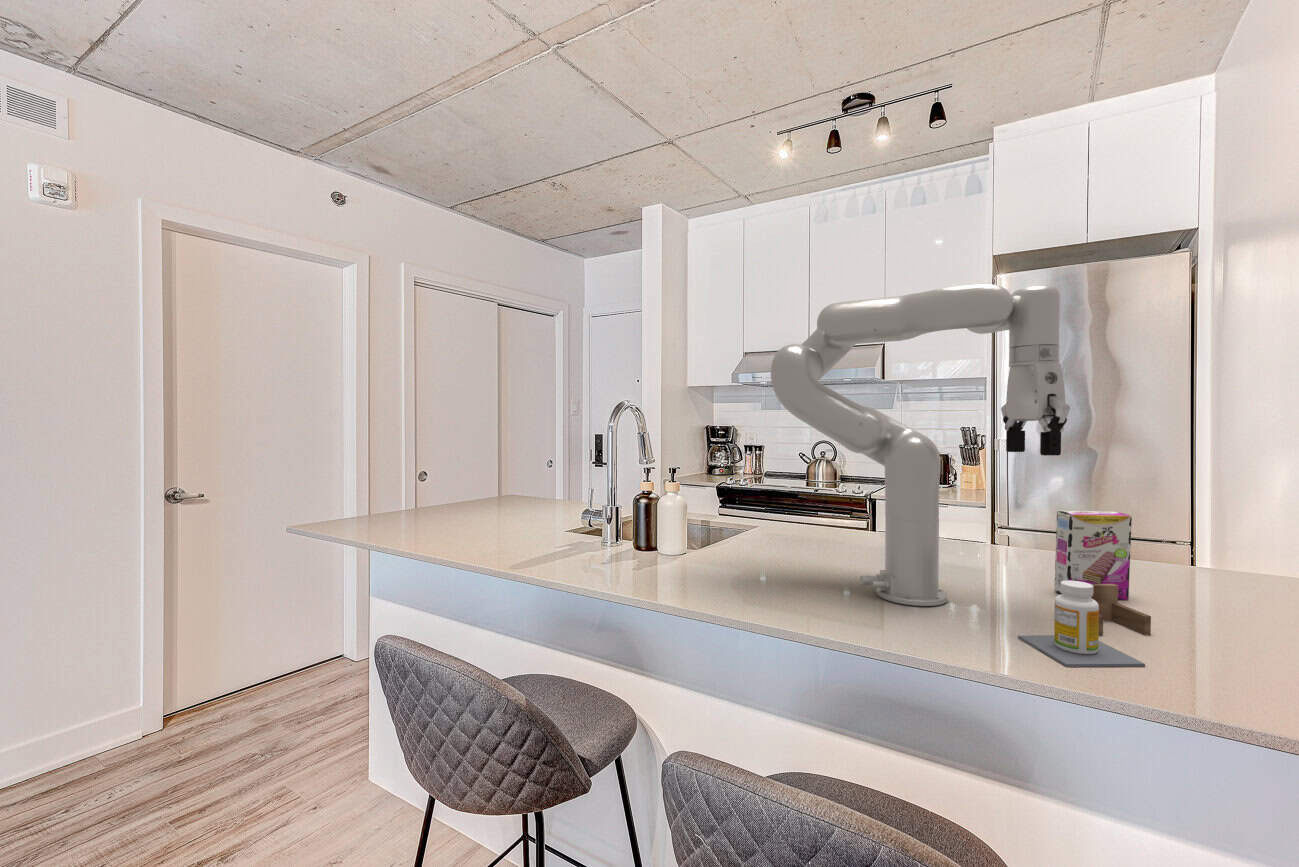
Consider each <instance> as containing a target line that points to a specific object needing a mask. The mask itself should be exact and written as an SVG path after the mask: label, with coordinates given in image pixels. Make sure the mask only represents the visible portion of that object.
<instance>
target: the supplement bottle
mask: <svg viewBox="0 0 1299 867" xmlns="http://www.w3.org/2000/svg"><path fill="white" fill-rule="evenodd" d="M1060 591H1061V592H1062V594H1058V595H1056V596H1055V598H1054V623H1053V624H1054V626H1053V628H1054V629H1053V631H1054V634H1053V635H1054V643H1055V645H1056V646H1057V647H1058V648H1060V649H1062V650H1065V651H1068V652H1071V653H1076V654H1095V653H1097V652H1098V643H1099V642H1098V640H1099V639H1100V638H1099V636H1100V635H1099V605H1098V603H1097V602H1096V601H1095V600H1094V599H1092V598H1091V596H1093V585H1091V584H1089V583H1085V582H1080V581H1070V580H1068V581H1061V584H1060Z"/></svg>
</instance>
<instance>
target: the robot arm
mask: <svg viewBox="0 0 1299 867" xmlns="http://www.w3.org/2000/svg"><path fill="white" fill-rule="evenodd" d="M1060 296H1061V295H1060V292H1059V289H1057V288H1056V287H1055V286H1049V285H1036V286H1028V287H1027V286H1026V287H1022V288H1019V289H1017V290H1015V291H1013V292H1012V293H1010V291H1009V290H1007V289H1006V288H1005V287H1003V286H1001V285H1000V284H999V285H998V284H994V283H993V284H992V283H981V284H980V283H979V284H971V285H970V284H969V285H960V286H951V287H943V288H937V289H933V290H932V289H931V290H927V291H922V292H916V293H915V292H914V293H909V294H905V295H898V296H890V297H888V296H887V297H880V298H870V299H869V298H868V299H859V300H858V299H857V300H849V301H840V302H833V303H831V304H829V305H826V306H825V307H824V308H823V309H822V310H821V311H820V313H819V314H818V316H817V319H816V329H815V330H814V331H813V332H812V333H811V335H809V336H808V338H806V339H805V340H804V341H803V342H802V343H801V344H798V343H797V344H796V343H793V344H792V343H791V344H788V345H785V346H782V347H781V348H780V349H779V350H778V351H777V352H776V353H775V355H774V357H773V359H772V361H771V365H770V366H771V367H770V380H771V382H770V383H771V385H772V389H773V391H774V394H775V396H776V397H777V399H778V402H779V403H780V404H781V405H782V406H783V408H785V409H786V411H788V412H789V413H790V415H791V414H792V416H793V417H795V418H797V419H799V420H800V421H801V422H803V423H805V424H806V425H809V426H810V427H811V428H813V429H815V430H816V431H818V432H820V434H823V435H824V436H827V437H828V438H829V439H832V440H833V441H835V442H836V443H838V444H840V445H841V446H843V448H845V449H847V450H849V451H850V452H853V453H855V454H861V455H864V456H865V457H867V458H869V459H871V460H872V461H874V462H876V463H878V464H880V465H881V466H884V492H885V494H884V496H885V497H884V500H885V502H884V516H885V520H884V522H885V525H884V529H885V535H884V536H885V538H884V540H885V541H884V544H885V545H884V569H880V570H879V573H876V574H875V575H860V577H859V584H860V586H865V587H866V586H868V587H869V586H870V587H871V588H872V589H876V594H877V596H879V597H880V598H881V599H883V600H886V601H888V602H891V603H896V604H900V605H906V606H913V607H914V606H915V607H935V606H940V605H944V604H945V603H947V601H948V594H947V593H946V592H945V591H944V590H942V589H940V588H939V583H940V582H939V580H940V579H939V574H940V573H939V570H940V568H939V566H940V565H939V563H940V562H939V561H940V560H939V559H940V554H939V553H940V550H939V549H940V482H941V481H940V479H941V478H940V477H941V456H940V451H939V449H938V447H937V446H936V444H935V443H934V441H933V440H931V439H930V438H929V437H928V436H926V435H924V434H923V433H920V432H918V431H917V430H915V429H913V428H911V427H909V426H907V425H905V424H903V423H902V422H899V420H898V421H897V420H896V419H894V418H892V417H890V416H888V415H886V414H885V413H883V412H881V411H879V410H877V409H875V408H873V407H869V406H864V405H862V404H859V403H857V402H855V401H854V400H851V399H849V398H847V397H845V396H843V395H842V394H840V393H838V392H836V391H835V390H833V389H832V388H830V387H828V386H826V385H824V384H823V383H821V382H820V380H821V379H822V378H823V377H824V376H825V375H826V374H828V372H830V371H831V369H832V368H833V367H834V366H836V365H837V363H839V361H841V360H842V359H843V358H844V357H845V356H846V355H847V354H848V353H849V352H850V351H851V350H852V348H853V347H855V345H857V344H858V345H859V344H873V343H883V342H884V343H885V342H900V341H902V342H903V341H906V340H910V339H914V338H916V337H919V336H921V335H926V334H929V333H933V332H935V333H936V332H940V331H942V332H943V331H947V330H948V331H950V330H959V329H967V330H968V331H970V332H972V333H974V334H977V335H978V334H979V335H980V334H981V335H983V334H985V335H986V334H992V333H998V332H1003V331H1009V332H1008V334H1009V336H1008V338H1009V340H1008V346H1009V347H1008V349H1009V350H1008V358H1009V359H1008V368H1009V372H1008V378H1007V384H1006V397H1005V399H1006V400H1005V401H1006V403H1005V404H1004V405H1002V406H1001V408H1000V410H1001V414H1002V417H1003V418H1002V422H1003V424H1004V431H1006V436H1005V438H1006V439H1005V441H1006V442H1005V444H1006V445H1005V449H1006V452H1007V453H1024V452H1025V451H1026V430H1023V429H1024V427H1025V425H1026V424H1027V422H1028V421H1029V422H1032V421H1033V422H1034V421H1035V422H1036V421H1038V422H1039V425H1040V427H1041V429H1042V430H1043V431H1040V435H1039V436H1040V438H1039V439H1040V440H1039V441H1040V443H1039V446H1040V448H1039V450H1040V451H1039V454H1040V456H1061V454H1062V433H1063V432H1064V430H1065V427H1064V426H1065V425H1066V424H1067V421H1068V419H1067V418H1068V415H1069V412H1070V411H1071V406H1070V405H1069V404H1068V403H1066V389H1065V379H1064V374H1063V369H1062V364H1061V363H1060V315H1061V314H1060V311H1061V310H1060V308H1061V307H1060V305H1061V304H1060V300H1061V298H1060Z"/></svg>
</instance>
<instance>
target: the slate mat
mask: <svg viewBox="0 0 1299 867" xmlns="http://www.w3.org/2000/svg"><path fill="white" fill-rule="evenodd" d="M1017 638H1018V639H1019V640H1021V641H1023V642H1024V643H1025V644H1027V645H1029V646H1031V647H1032V648H1034V649H1035V650H1037V651H1039V652H1040V653H1042V654H1044V655H1046V656H1047V657H1049V658H1051V659H1053V660H1054V661H1055V662H1057V663H1059V664H1061V665H1062V666H1064V667H1065V668H1108V667H1109V668H1116V667H1117V668H1121V667H1122V668H1123V667H1124V668H1125V667H1126V668H1127V667H1128V668H1130V667H1132V668H1134V667H1137V668H1139V667H1140V668H1142V667H1143V668H1144V667H1146V663H1145V662H1143V661H1140V660H1139V659H1136V658H1134V657H1133V656H1130V655H1129V654H1126V653H1125V652H1122V651H1121V650H1119V649H1116V648H1115V647H1112V646H1111V645H1109V644H1106V643H1104V642H1102V641H1100V640H1099V639H1098V642H1099V643H1098V652H1097V653H1095V654H1076V653H1071V652H1068V651H1065V650H1062V649H1060V648H1058V647H1057V646H1056V645H1055V643H1054V634H1052V635H1050V634H1039V635H1037V634H1033V635H1029V634H1027V635H1024V634H1022V635H1021V634H1020V635H1019V634H1018V636H1017Z"/></svg>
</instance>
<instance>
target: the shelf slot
mask: <svg viewBox="0 0 1299 867" xmlns="http://www.w3.org/2000/svg"><path fill="white" fill-rule="evenodd" d="M1091 585H1093V596H1091V598H1092V599H1094V600H1095V601H1096V602H1097V603H1098V605H1099V636H1104V621H1111V622H1114V623H1116V624H1118V625H1121V626H1123V627H1125V628H1127V629H1130V630H1132V631H1135V632H1137V633H1139V634H1141V635H1144V636H1151V634H1152V633H1151V630H1152V628H1151V627H1152V626H1151V625H1152V616H1151V615H1150V614H1147V613H1143V612H1141V611H1139V610H1136V609H1134V608H1131V607H1129V606H1126V605H1123V604H1121V603H1119V602H1118V601H1119V600H1118V585H1115V584H1091Z"/></svg>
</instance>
